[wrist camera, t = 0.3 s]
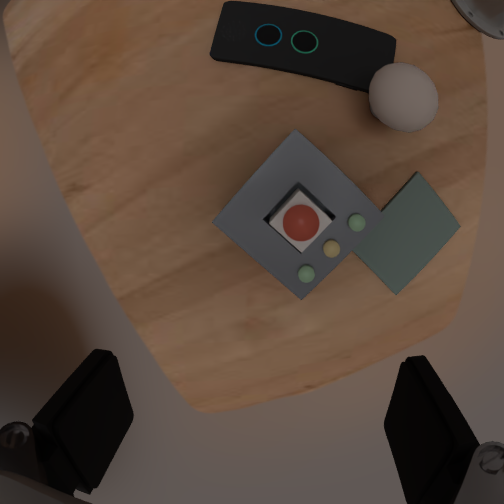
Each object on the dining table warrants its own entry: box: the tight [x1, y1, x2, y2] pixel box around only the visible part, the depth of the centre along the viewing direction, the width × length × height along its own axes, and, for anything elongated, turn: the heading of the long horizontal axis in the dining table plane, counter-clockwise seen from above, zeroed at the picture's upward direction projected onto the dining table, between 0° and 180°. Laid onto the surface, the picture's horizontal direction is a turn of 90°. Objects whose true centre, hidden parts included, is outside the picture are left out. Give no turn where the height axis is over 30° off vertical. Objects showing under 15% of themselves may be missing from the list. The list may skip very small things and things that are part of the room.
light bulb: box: [369, 62, 438, 133], centre depth 25 cm, size 7×7×11 cm
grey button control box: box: [212, 129, 385, 300], centre depth 32 cm, size 12×12×6 cm
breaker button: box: [269, 188, 332, 253], centre depth 29 cm, size 4×4×4 cm
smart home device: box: [210, 1, 396, 93], centre depth 29 cm, size 8×2×20 cm
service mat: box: [352, 172, 461, 295], centre depth 34 cm, size 12×9×1 cm
